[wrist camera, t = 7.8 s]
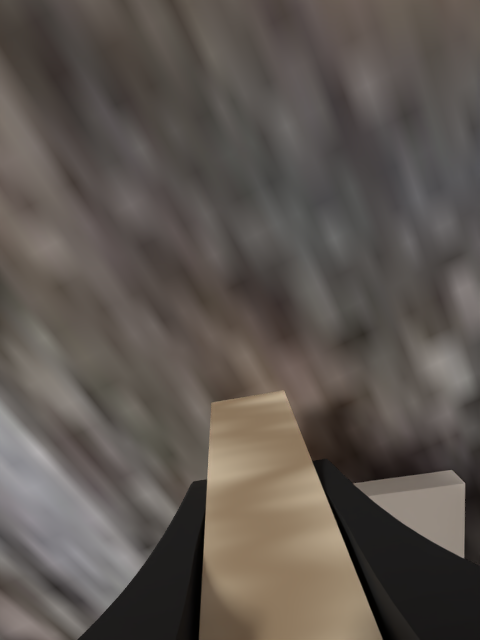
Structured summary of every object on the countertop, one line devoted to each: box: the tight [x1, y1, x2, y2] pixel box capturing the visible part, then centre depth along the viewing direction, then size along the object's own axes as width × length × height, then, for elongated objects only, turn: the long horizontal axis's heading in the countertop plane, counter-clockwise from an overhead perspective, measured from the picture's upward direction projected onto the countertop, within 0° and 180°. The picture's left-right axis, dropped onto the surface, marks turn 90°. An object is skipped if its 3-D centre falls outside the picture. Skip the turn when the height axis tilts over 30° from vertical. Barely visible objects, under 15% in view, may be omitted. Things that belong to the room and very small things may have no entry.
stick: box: [199, 390, 383, 640], centre depth 11 cm, size 3×3×10 cm
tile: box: [353, 470, 465, 558], centre depth 24 cm, size 8×2×8 cm
